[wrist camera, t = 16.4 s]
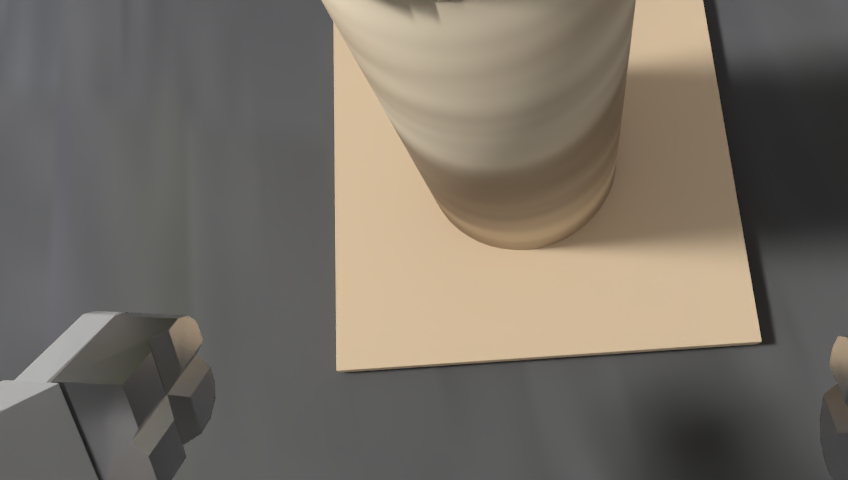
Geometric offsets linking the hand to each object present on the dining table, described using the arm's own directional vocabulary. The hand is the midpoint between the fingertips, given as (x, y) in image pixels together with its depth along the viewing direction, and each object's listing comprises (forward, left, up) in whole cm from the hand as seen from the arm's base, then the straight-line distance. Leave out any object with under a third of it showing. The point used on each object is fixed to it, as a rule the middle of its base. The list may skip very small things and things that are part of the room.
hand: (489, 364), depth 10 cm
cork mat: (+6, 0, -9) cm, 11 cm away
